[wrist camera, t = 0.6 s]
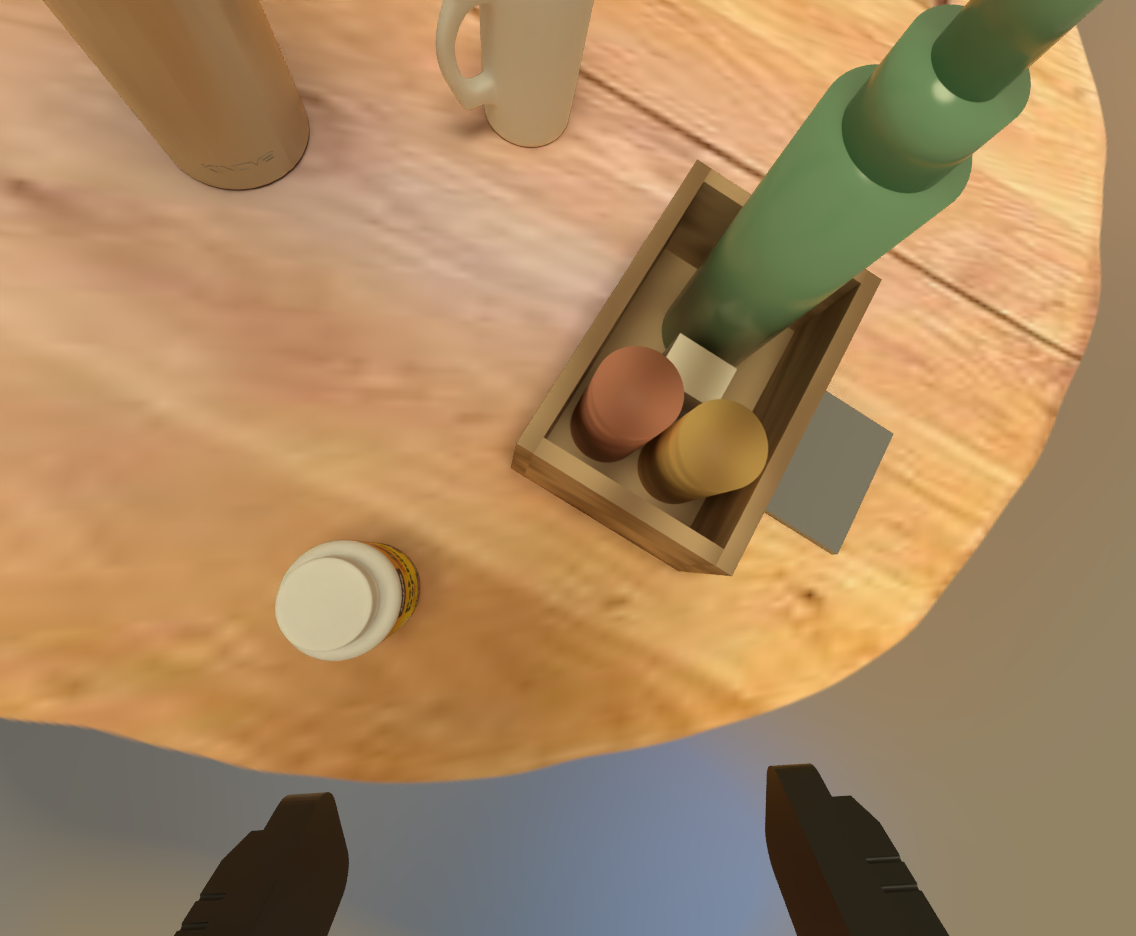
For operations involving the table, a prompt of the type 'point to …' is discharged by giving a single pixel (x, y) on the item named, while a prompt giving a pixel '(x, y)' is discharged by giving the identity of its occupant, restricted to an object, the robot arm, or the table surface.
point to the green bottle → (868, 169)
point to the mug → (519, 63)
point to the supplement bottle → (346, 598)
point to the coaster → (829, 473)
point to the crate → (683, 401)
